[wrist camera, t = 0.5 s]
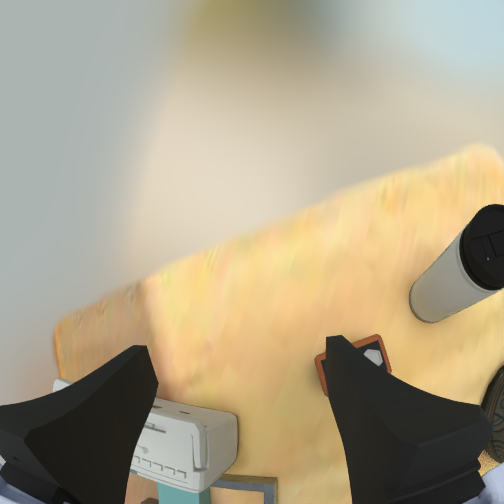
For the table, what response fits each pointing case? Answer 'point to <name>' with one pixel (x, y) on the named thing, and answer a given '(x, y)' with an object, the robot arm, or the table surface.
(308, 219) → the table surface
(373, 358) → the battery
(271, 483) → the chute
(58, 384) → the stereo radio cassette player
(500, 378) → the beer stein
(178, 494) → the block
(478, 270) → the travel mug
